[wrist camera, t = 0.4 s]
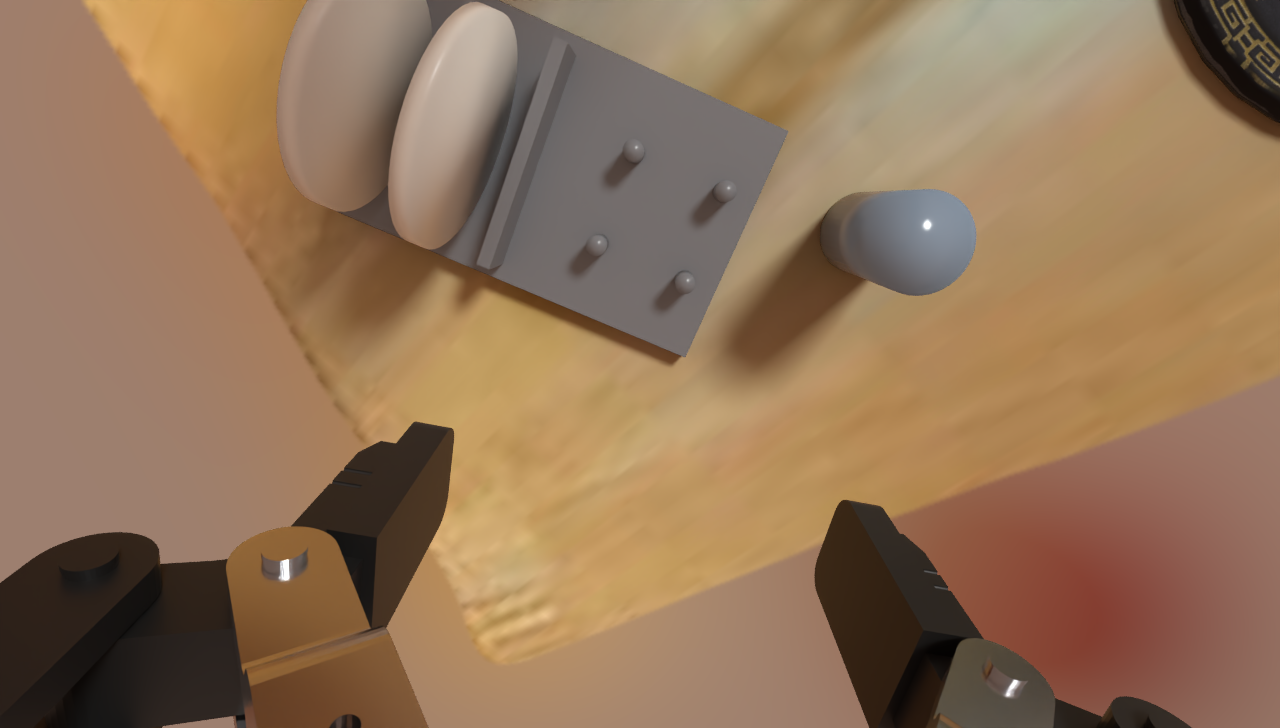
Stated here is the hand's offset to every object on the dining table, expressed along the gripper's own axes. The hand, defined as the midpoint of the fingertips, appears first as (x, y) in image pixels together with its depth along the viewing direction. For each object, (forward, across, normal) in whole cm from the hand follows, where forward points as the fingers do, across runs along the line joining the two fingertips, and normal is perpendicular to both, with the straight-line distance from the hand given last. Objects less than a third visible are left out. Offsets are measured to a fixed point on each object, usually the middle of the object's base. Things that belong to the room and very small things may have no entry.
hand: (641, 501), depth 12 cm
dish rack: (+29, +6, -4) cm, 30 cm away
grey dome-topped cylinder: (+28, -13, -4) cm, 31 cm away
